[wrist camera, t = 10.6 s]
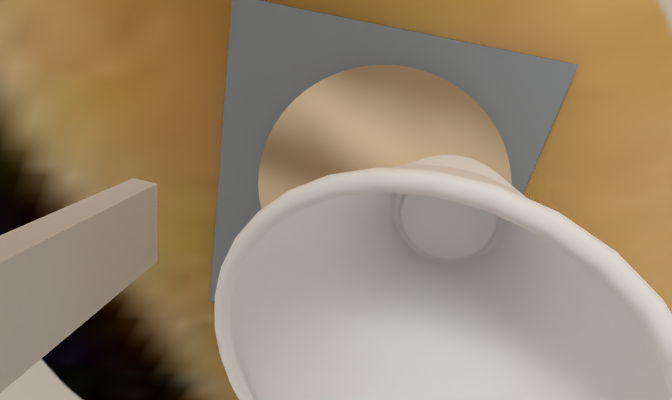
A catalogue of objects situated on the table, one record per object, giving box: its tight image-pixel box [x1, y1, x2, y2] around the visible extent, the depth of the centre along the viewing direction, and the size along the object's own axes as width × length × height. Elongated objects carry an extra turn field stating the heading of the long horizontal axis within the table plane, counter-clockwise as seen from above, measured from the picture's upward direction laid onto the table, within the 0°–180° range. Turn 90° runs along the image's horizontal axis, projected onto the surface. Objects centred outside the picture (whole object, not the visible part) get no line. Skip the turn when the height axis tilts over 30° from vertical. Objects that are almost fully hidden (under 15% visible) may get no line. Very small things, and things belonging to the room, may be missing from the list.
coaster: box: [258, 65, 512, 209], centre depth 18 cm, size 13×13×1 cm
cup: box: [215, 155, 672, 400], centre depth 12 cm, size 10×10×11 cm
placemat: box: [209, 0, 578, 302], centre depth 19 cm, size 18×16×1 cm
